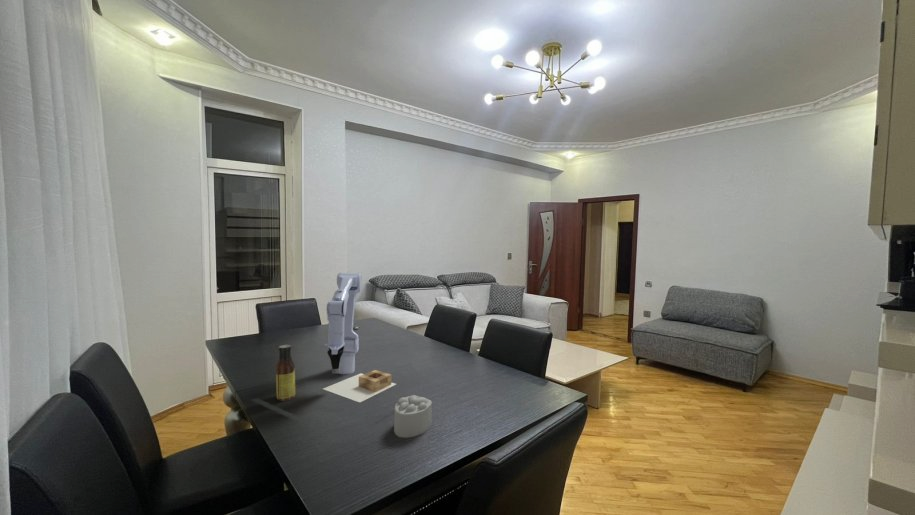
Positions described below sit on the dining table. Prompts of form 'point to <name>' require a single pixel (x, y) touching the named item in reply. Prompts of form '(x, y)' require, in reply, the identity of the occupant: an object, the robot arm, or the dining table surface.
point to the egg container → (412, 416)
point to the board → (353, 389)
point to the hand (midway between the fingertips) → (335, 367)
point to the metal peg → (336, 370)
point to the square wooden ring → (375, 380)
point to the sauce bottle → (285, 374)
